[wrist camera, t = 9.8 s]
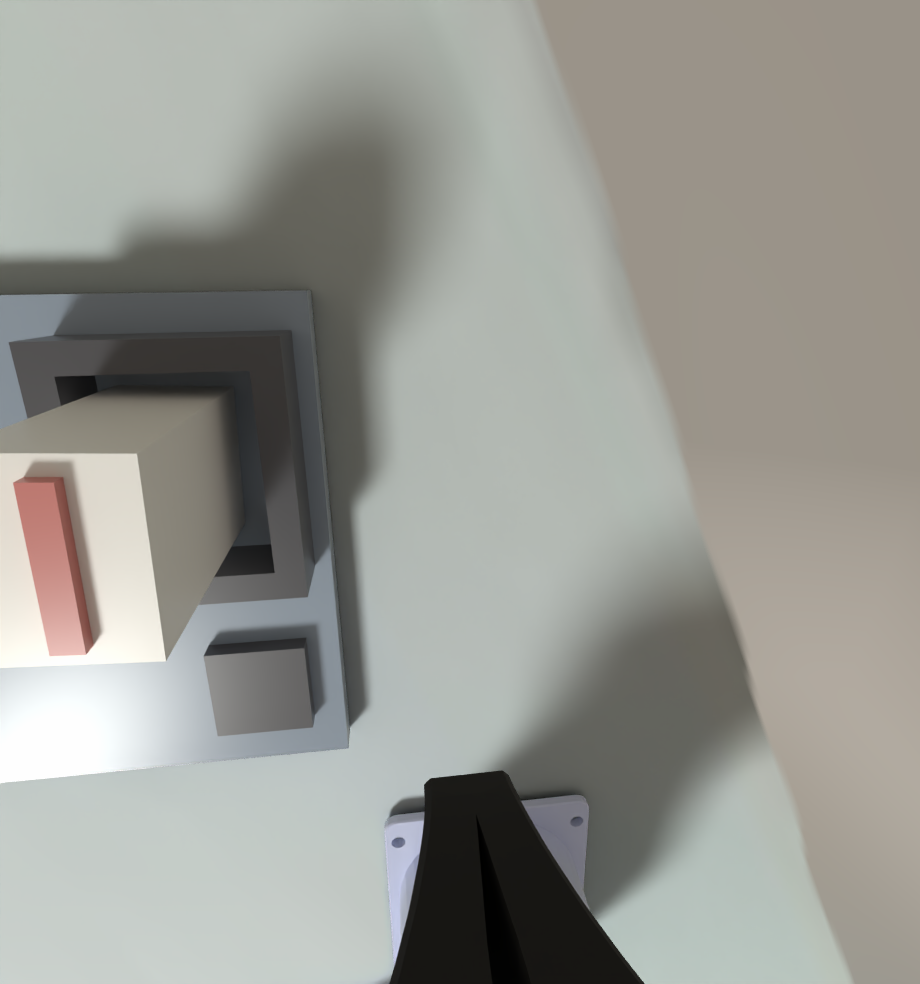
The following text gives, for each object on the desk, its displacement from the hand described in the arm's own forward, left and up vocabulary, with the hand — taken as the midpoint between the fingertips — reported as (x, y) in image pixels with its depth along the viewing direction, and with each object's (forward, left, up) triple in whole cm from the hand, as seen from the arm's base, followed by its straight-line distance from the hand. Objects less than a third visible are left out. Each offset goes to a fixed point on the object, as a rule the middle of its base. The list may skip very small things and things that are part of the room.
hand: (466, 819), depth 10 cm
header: (+4, +6, -9) cm, 12 cm away
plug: (+4, +7, -9) cm, 12 cm away
